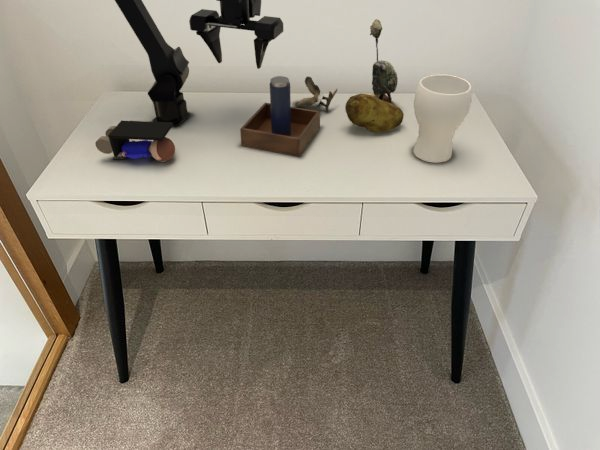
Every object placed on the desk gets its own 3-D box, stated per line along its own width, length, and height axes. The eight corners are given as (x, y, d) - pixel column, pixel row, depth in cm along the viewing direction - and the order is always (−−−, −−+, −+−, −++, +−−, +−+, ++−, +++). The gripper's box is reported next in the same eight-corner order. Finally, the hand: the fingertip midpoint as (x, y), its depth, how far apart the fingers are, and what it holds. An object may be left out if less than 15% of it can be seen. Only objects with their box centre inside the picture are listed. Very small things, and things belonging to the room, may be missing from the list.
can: (271, 139, 108) (268, 84, 100) (272, 129, 111) (269, 75, 103) (290, 139, 108) (289, 84, 100) (291, 129, 111) (290, 75, 103)
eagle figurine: (339, 98, 122) (306, 84, 124) (337, 81, 115) (303, 67, 118) (323, 123, 121) (291, 109, 123) (321, 108, 114) (287, 93, 116)
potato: (402, 140, 108) (407, 105, 103) (342, 136, 110) (344, 102, 105) (402, 122, 115) (406, 89, 110) (345, 118, 116) (347, 85, 111)
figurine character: (102, 169, 102) (171, 168, 99) (89, 136, 98) (160, 134, 95) (117, 152, 108) (182, 151, 105) (104, 120, 103) (172, 117, 100)
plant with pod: (369, 119, 116) (378, 31, 103) (357, 98, 125) (363, 14, 112) (403, 117, 117) (415, 29, 104) (389, 96, 126) (399, 12, 113)
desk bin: (241, 145, 107) (240, 128, 104) (265, 118, 117) (265, 102, 114) (299, 156, 103) (299, 139, 101) (319, 127, 113) (320, 111, 110)
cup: (428, 172, 99) (441, 100, 89) (396, 147, 106) (405, 79, 97) (469, 158, 103) (486, 89, 93) (436, 136, 110) (448, 69, 100)
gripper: (292, -19, 101) (293, 57, 111) (209, -27, 106) (217, 47, 116) (271, -5, 93) (274, 76, 103) (182, -14, 98) (193, 64, 108)
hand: (239, 65), depth 108 cm, fingers open, 9 cm apart
